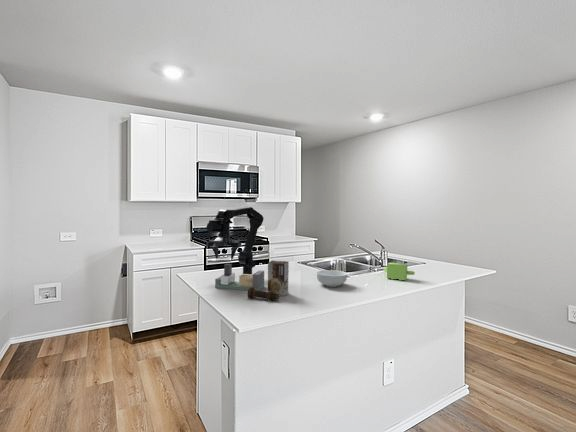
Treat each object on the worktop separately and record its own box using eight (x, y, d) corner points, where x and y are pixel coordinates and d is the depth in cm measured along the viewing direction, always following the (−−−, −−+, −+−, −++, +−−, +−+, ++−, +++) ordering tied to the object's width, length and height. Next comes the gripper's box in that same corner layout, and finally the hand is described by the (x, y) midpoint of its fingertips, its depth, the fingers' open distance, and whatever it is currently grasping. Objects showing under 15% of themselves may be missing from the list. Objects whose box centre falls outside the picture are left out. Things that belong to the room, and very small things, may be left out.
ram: (227, 280, 181) (228, 262, 181) (234, 280, 180) (235, 263, 180) (220, 284, 172) (220, 265, 172) (227, 284, 171) (228, 266, 171)
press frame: (223, 282, 182) (223, 267, 182) (264, 286, 177) (264, 270, 176) (215, 287, 173) (215, 271, 172) (257, 291, 167) (258, 274, 167)
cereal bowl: (350, 283, 186) (350, 271, 185) (342, 290, 171) (342, 277, 170) (322, 280, 193) (322, 268, 192) (312, 286, 178) (312, 273, 177)
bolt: (277, 305, 151) (248, 300, 156) (281, 297, 155) (252, 293, 160) (275, 296, 148) (246, 291, 153) (279, 288, 152) (250, 284, 157)
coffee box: (288, 292, 165) (289, 261, 164) (284, 296, 159) (284, 263, 158) (272, 291, 168) (272, 260, 167) (267, 294, 162) (267, 262, 161)
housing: (243, 282, 177) (243, 273, 177) (257, 284, 175) (257, 274, 175) (239, 285, 171) (239, 276, 171) (253, 286, 170) (253, 277, 169)
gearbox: (415, 280, 199) (416, 264, 199) (412, 282, 191) (413, 266, 191) (385, 275, 208) (386, 261, 208) (381, 278, 199) (382, 262, 199)
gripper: (202, 232, 179) (202, 260, 179) (234, 233, 174) (233, 262, 175) (212, 230, 189) (211, 257, 190) (241, 231, 185) (241, 259, 186)
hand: (224, 258), depth 185 cm, fingers open, 9 cm apart
